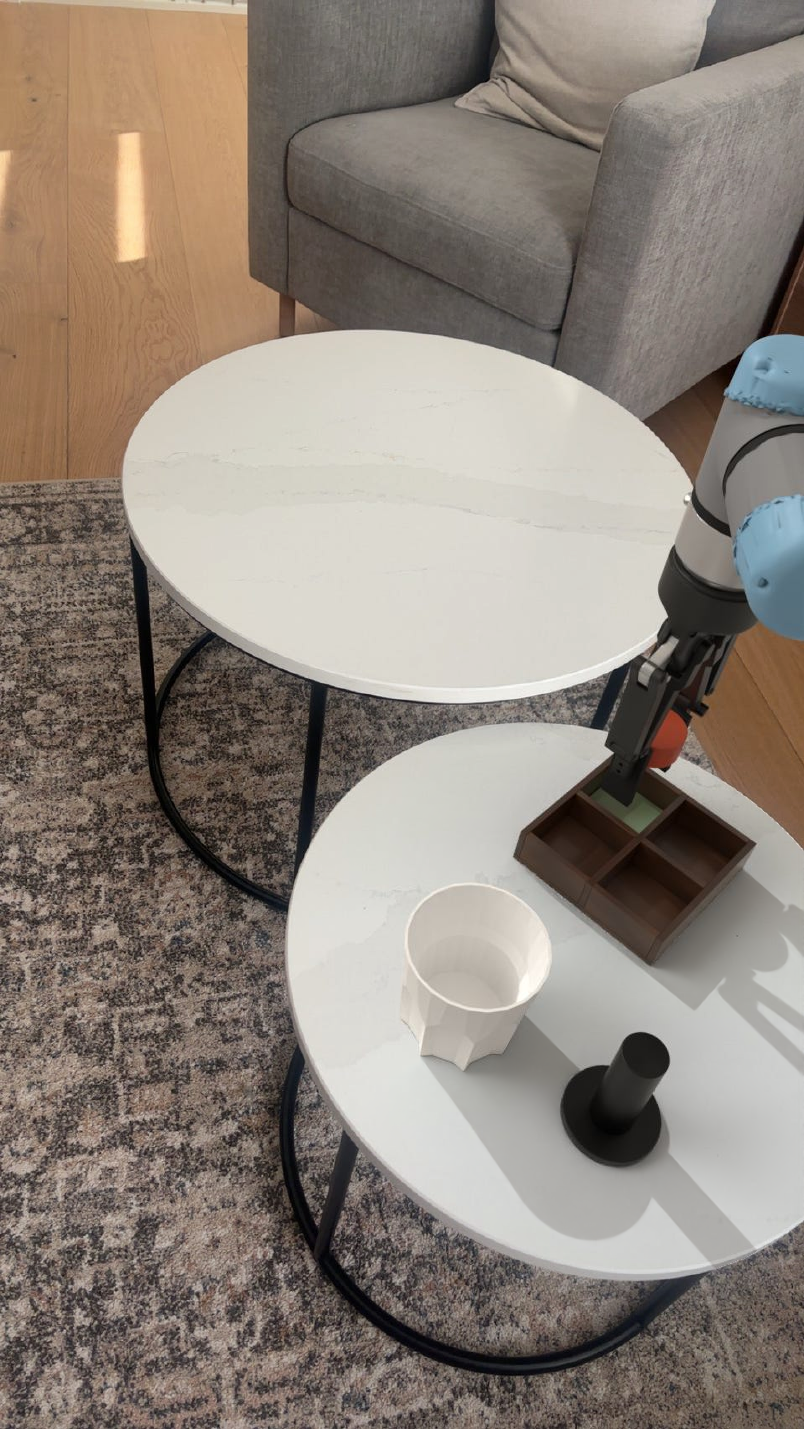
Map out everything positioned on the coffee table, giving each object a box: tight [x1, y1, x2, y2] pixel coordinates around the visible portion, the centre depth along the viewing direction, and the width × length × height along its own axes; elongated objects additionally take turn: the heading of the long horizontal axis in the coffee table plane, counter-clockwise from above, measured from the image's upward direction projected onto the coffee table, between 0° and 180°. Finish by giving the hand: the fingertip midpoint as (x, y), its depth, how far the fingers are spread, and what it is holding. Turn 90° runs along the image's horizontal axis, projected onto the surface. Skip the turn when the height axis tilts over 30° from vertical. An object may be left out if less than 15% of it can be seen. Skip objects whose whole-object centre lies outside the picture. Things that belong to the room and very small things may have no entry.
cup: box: [398, 881, 553, 1072], centre depth 77 cm, size 10×10×10 cm
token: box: [647, 709, 689, 769], centre depth 88 cm, size 5×5×2 cm
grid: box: [512, 752, 758, 967], centre depth 91 cm, size 14×14×4 cm
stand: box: [559, 1031, 671, 1168], centre depth 73 cm, size 7×7×9 cm
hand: (635, 777), depth 92 cm, fingers closed on token, 5 cm apart
